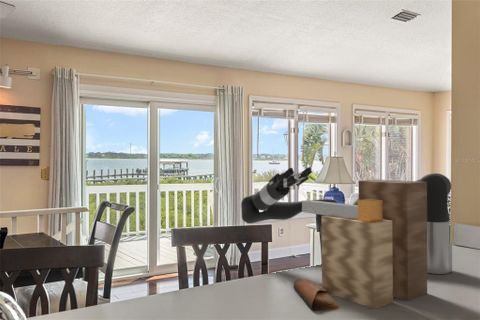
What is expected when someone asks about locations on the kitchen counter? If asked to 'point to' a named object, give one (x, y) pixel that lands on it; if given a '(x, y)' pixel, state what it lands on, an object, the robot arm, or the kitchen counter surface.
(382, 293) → the beige slab
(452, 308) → the kitchen counter surface
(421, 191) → the walnut stand
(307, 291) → the sunglasses case
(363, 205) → the steel pin
